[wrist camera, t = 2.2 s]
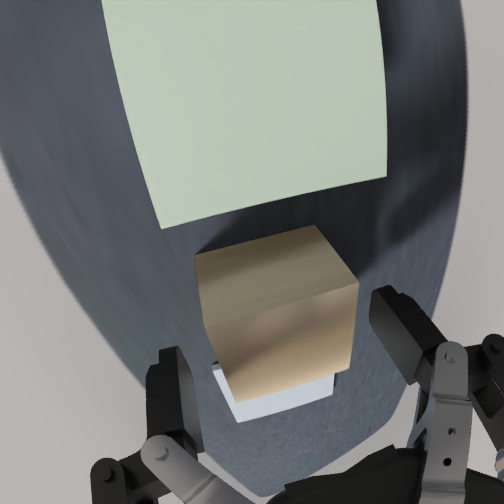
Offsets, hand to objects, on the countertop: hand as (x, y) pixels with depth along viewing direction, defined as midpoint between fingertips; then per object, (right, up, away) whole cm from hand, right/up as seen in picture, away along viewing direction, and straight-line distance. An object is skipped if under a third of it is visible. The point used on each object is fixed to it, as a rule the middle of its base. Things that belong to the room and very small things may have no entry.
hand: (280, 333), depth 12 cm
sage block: (-2, +9, -3) cm, 10 cm away
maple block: (-1, +2, +2) cm, 3 cm away
